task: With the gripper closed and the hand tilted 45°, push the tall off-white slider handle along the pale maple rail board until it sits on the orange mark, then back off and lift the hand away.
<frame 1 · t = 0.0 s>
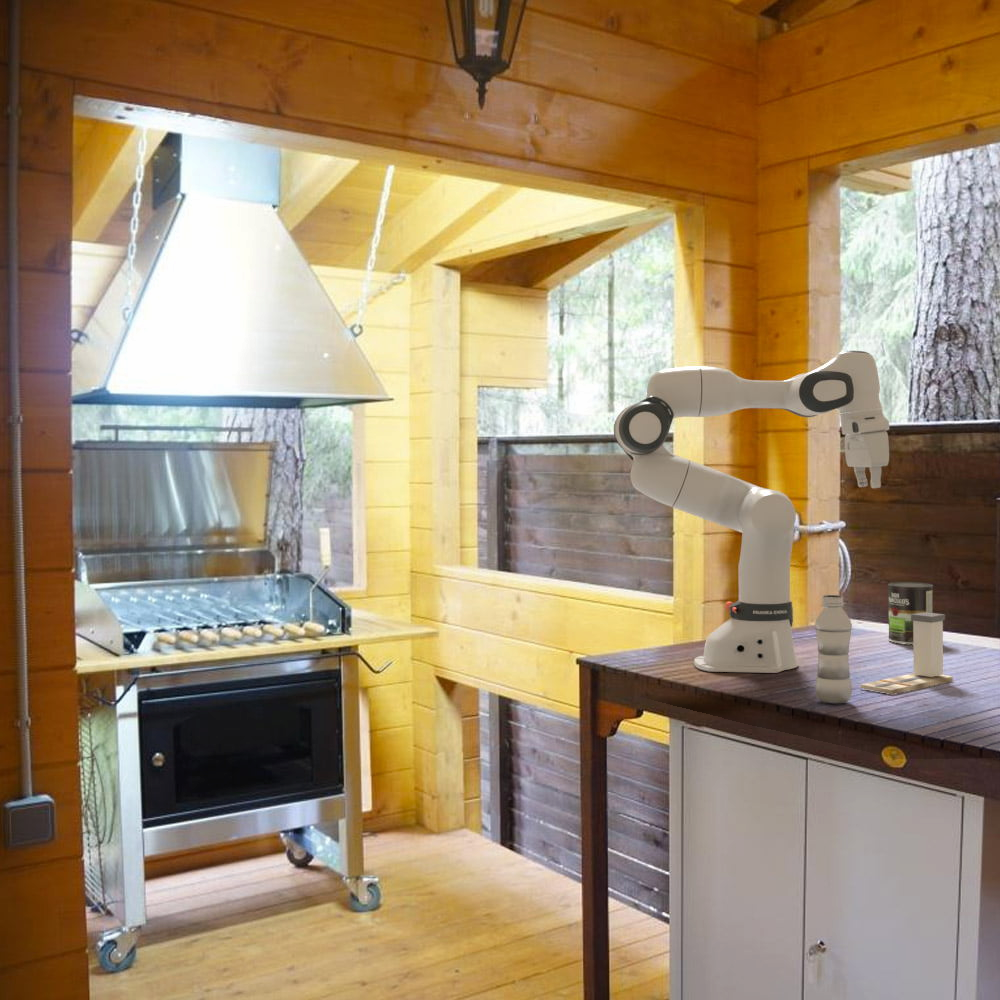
hand: (869, 487, 244), 39 cm above the counter, tool pointing down, fingers open, 8 cm apart
rail board: (928, 680, 226), on the counter
coffee can: (910, 642, 272), on the counter
slider handle: (928, 644, 226), point 7 cm above the counter, slide at 0.0 cm
plastic bottle: (833, 704, 208), on the counter
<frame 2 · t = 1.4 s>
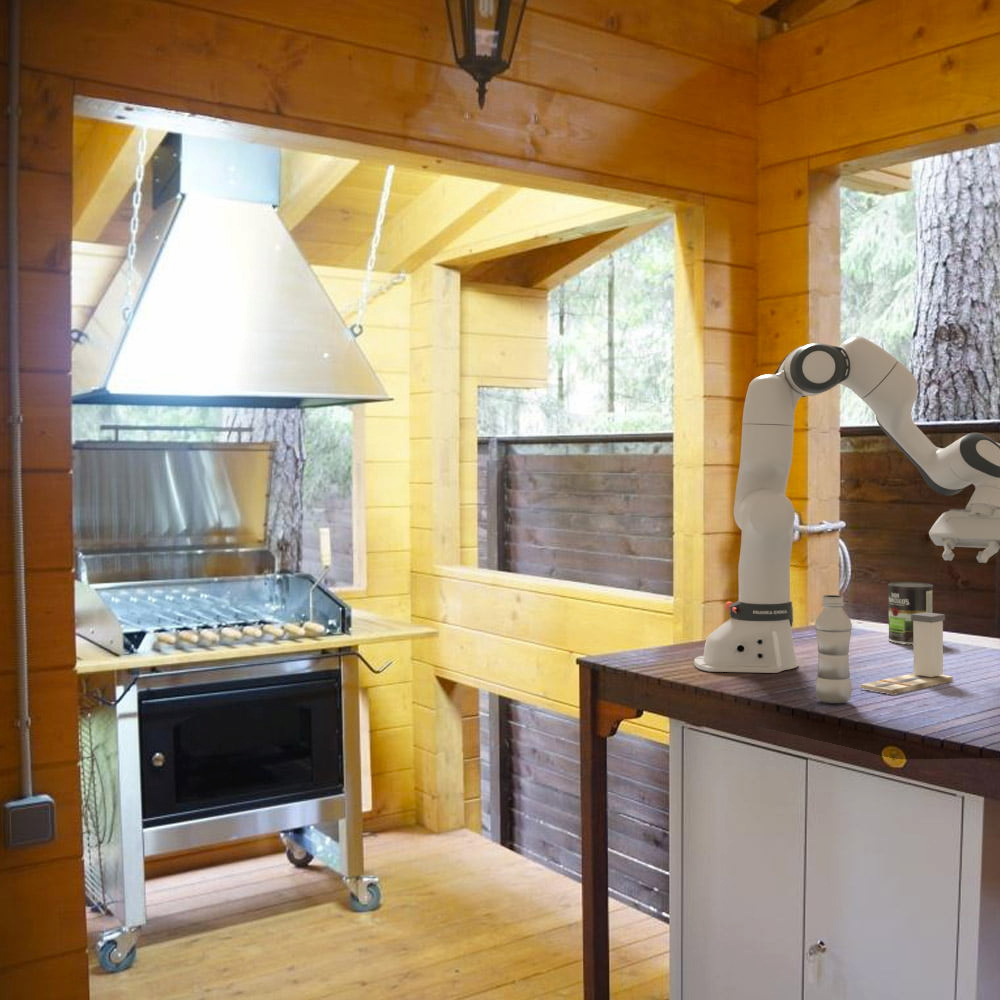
hand: (963, 559, 232), 24 cm above the counter, tool tilted 45°, fingers open, 6 cm apart
nothing on the counter moved.
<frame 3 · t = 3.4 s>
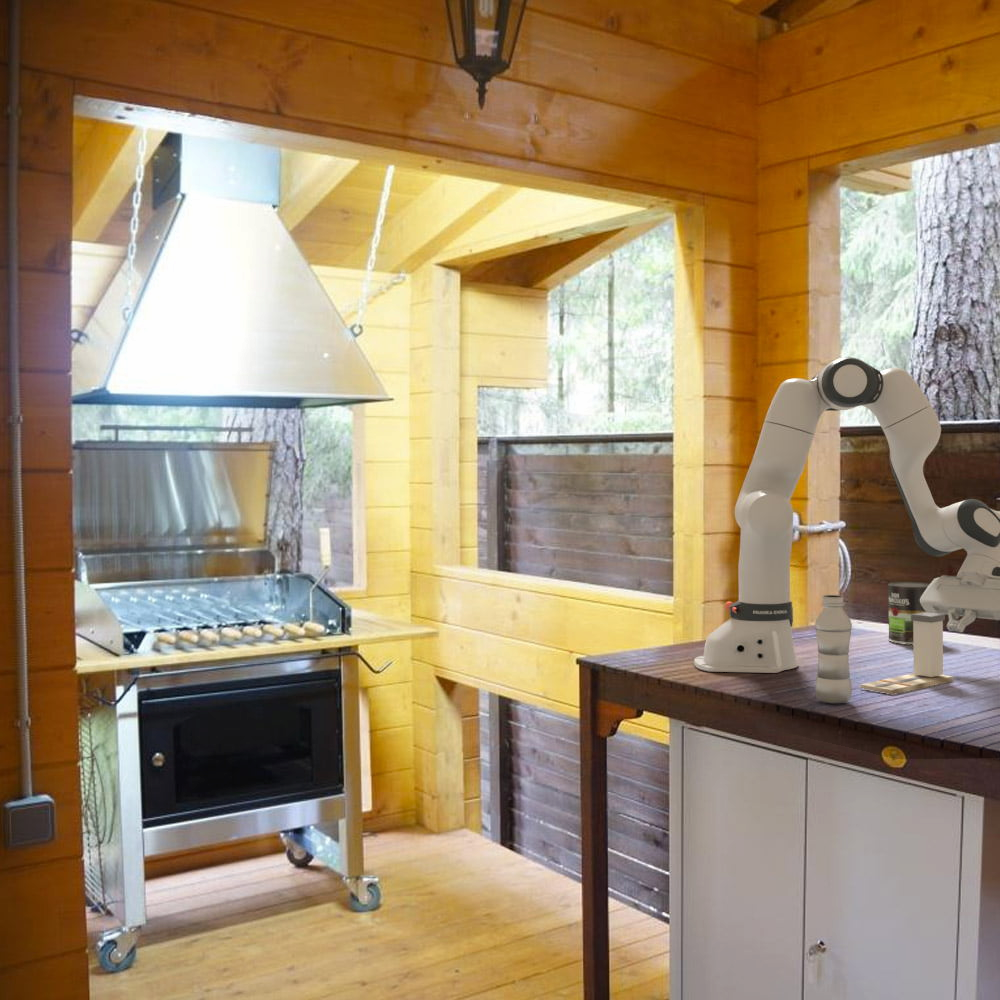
hand: (954, 629, 231), 9 cm above the counter, tool tilted 45°, fingers closed
nothing on the counter moved.
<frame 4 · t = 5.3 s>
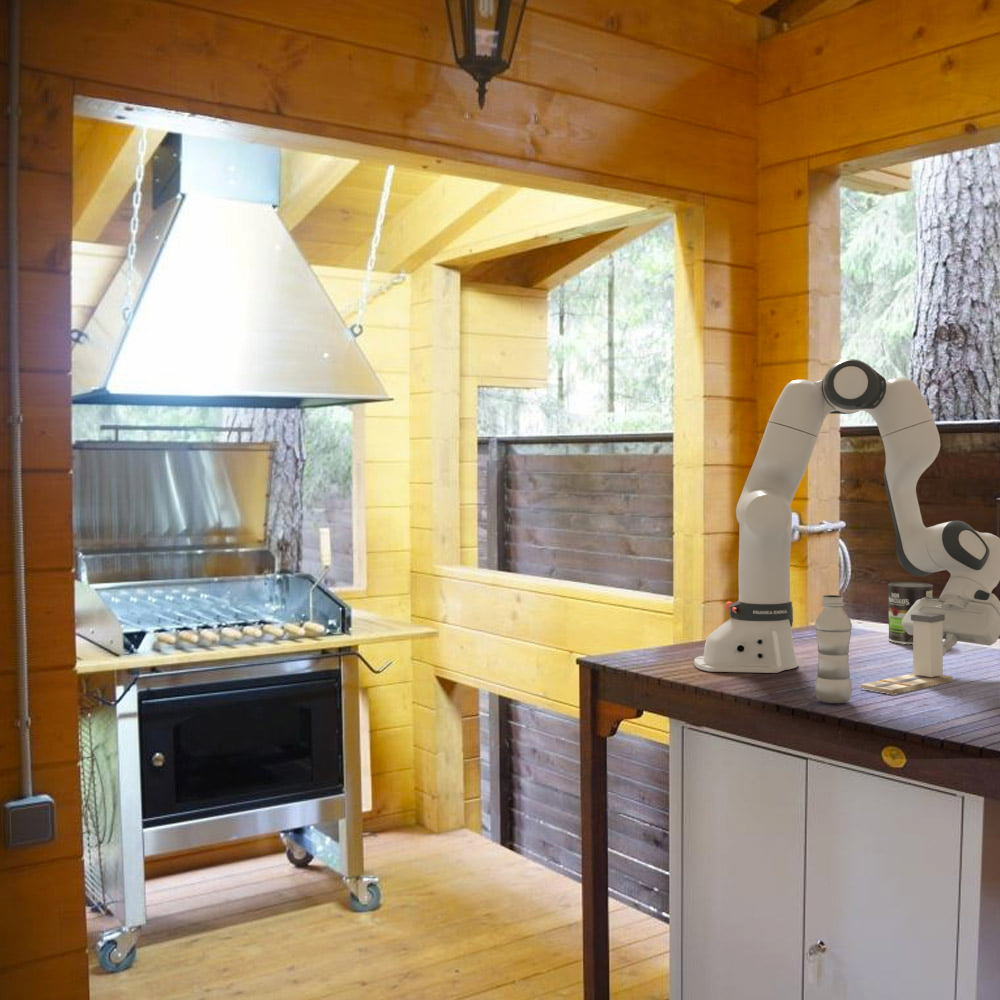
hand: (935, 653, 227), 5 cm above the counter, tool tilted 45°, fingers closed, pressing on slider handle
slider handle: (927, 644, 226), point 7 cm above the counter, slide at 0.1 cm, touching gripper
everything else where it was.
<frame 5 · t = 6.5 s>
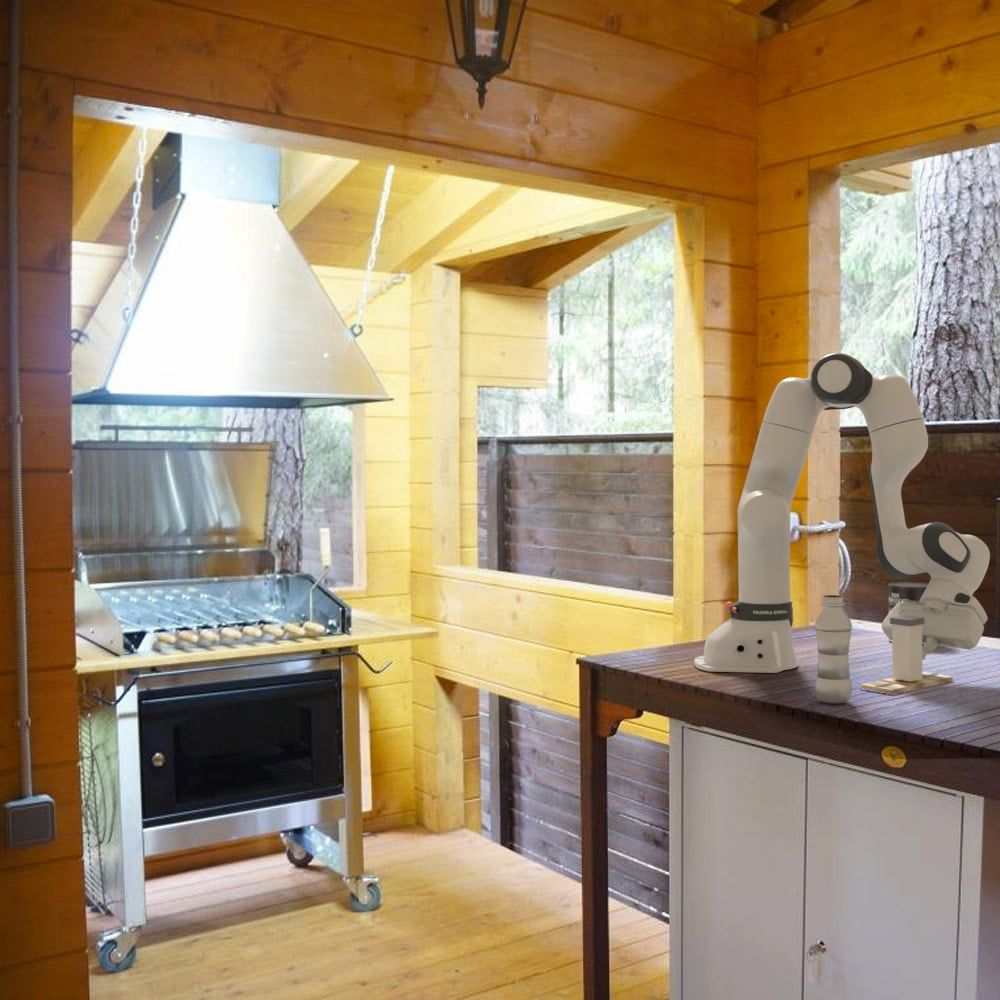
hand: (915, 657, 223), 5 cm above the counter, tool tilted 45°, fingers closed, pressing on slider handle
slider handle: (907, 648, 222), point 7 cm above the counter, slide at 6.9 cm, touching gripper
everything else where it was.
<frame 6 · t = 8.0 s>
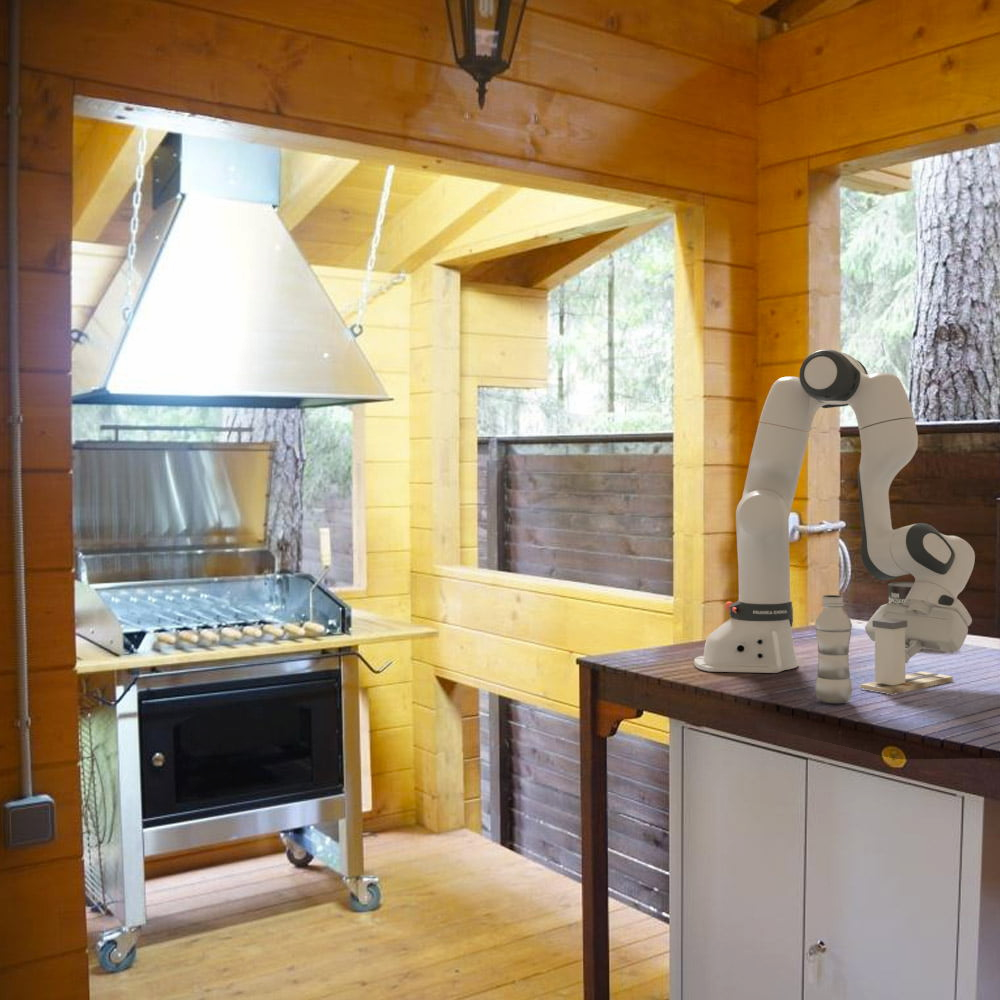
hand: (898, 660, 220), 5 cm above the counter, tool tilted 45°, fingers closed, pressing on slider handle
slider handle: (890, 651, 218), point 7 cm above the counter, slide at 12.5 cm, touching gripper
everything else where it was.
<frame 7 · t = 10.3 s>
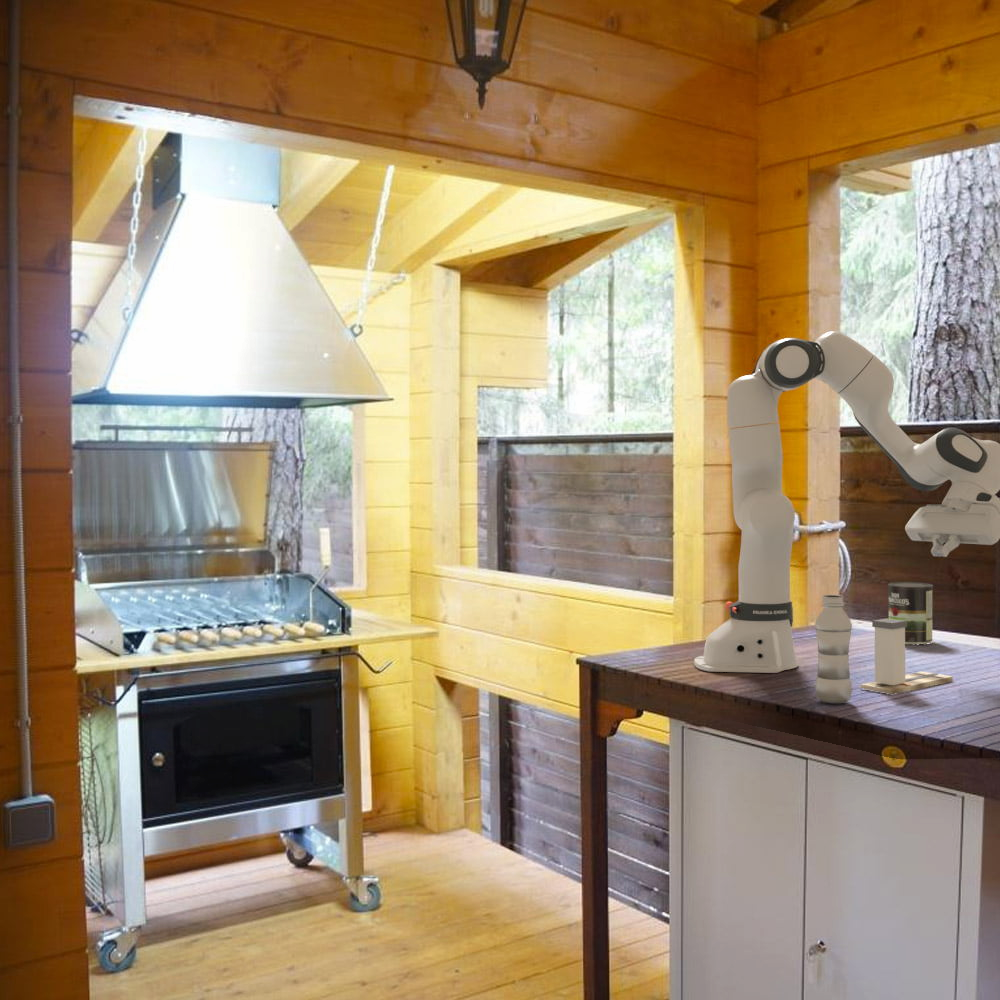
hand: (938, 554, 231), 25 cm above the counter, tool tilted 45°, fingers closed
slider handle: (889, 651, 218), point 7 cm above the counter, slide at 12.5 cm
everything else where it was.
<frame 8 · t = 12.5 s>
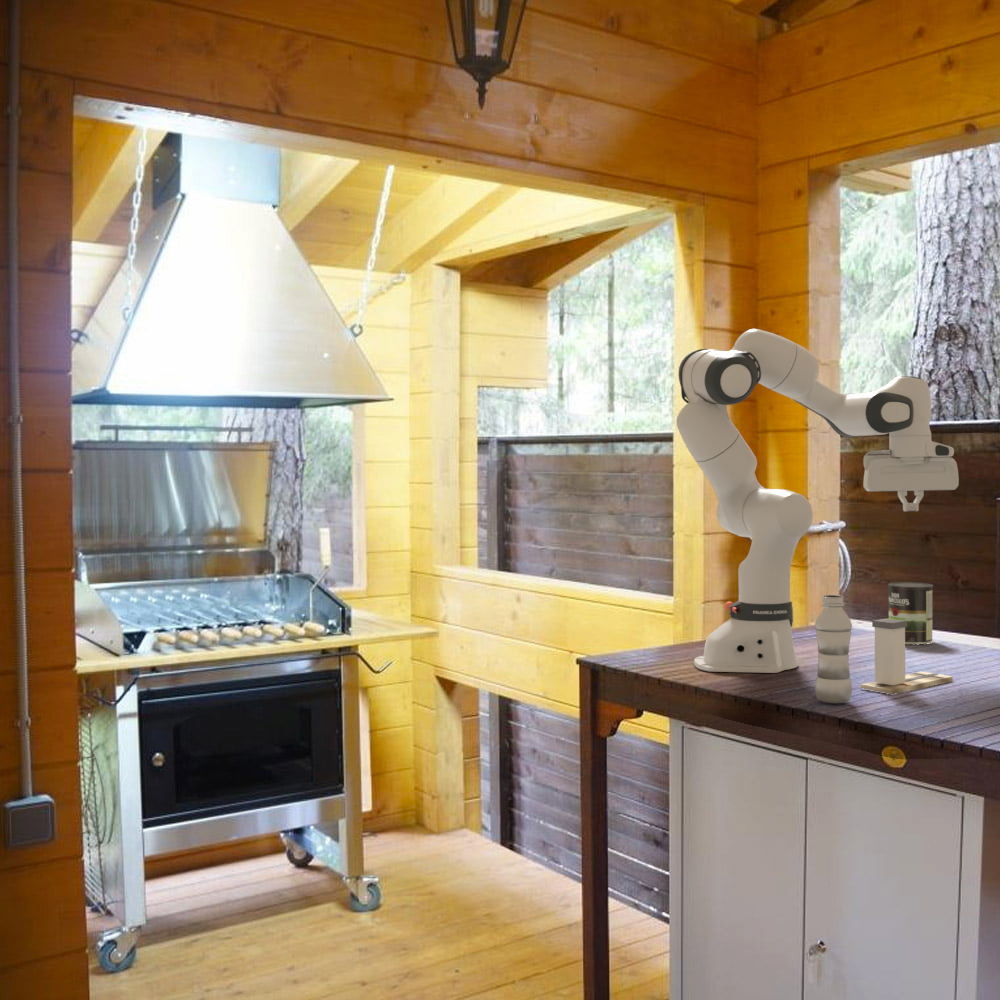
hand: (910, 511, 249), 33 cm above the counter, tool pointing down, fingers closed
nothing on the counter moved.
at the end: slider handle slide at 12.5 cm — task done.
